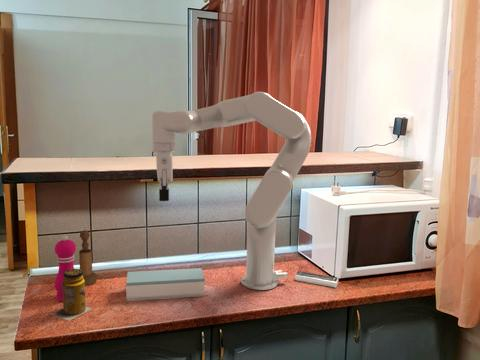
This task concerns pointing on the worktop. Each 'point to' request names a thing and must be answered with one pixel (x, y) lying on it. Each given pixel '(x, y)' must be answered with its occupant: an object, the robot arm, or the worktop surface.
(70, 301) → the condiment
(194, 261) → the worktop surface
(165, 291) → the white open box
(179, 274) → the cover
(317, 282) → the multiport hub
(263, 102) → the robot arm
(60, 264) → the pepper mill
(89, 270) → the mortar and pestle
